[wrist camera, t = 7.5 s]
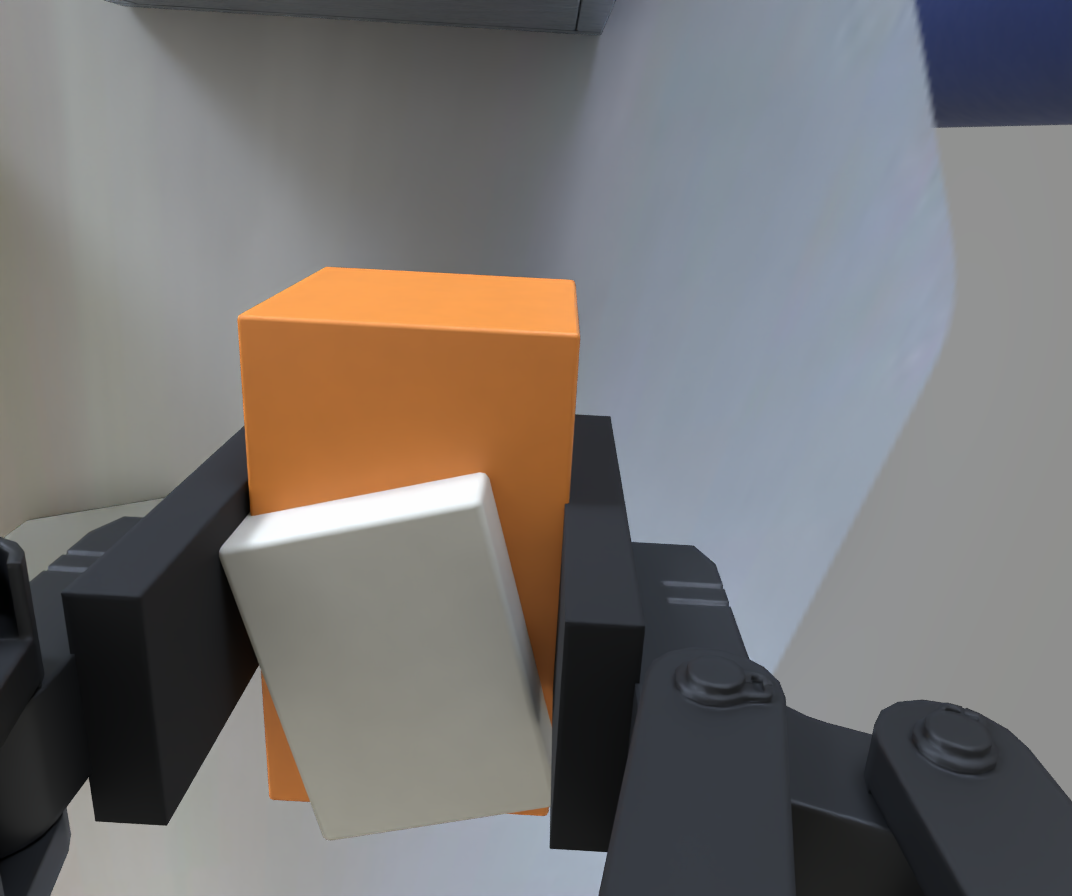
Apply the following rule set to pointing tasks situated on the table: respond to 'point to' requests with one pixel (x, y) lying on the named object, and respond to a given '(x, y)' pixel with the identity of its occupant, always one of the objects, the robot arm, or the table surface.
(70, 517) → the white cube
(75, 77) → the table surface
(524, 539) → the orange and grey block
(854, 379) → the table surface
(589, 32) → the black open storage box
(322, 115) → the table surface
